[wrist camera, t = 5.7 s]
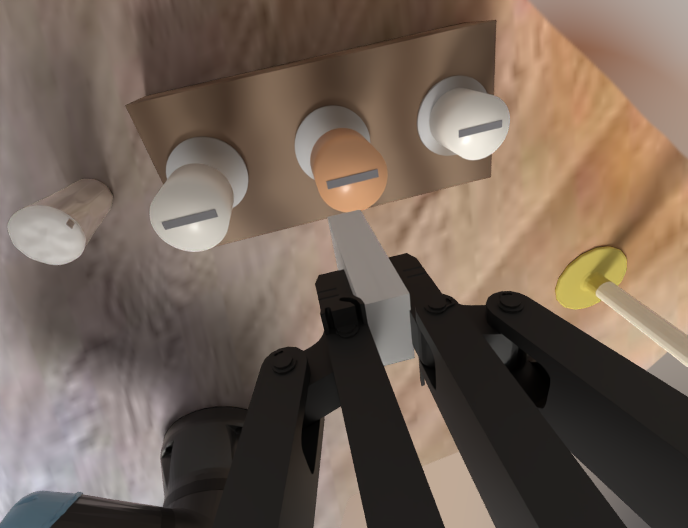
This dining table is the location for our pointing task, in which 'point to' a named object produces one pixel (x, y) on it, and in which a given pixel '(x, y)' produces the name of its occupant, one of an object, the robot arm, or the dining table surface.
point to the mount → (321, 123)
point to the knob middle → (348, 170)
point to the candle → (615, 297)
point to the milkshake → (61, 222)
